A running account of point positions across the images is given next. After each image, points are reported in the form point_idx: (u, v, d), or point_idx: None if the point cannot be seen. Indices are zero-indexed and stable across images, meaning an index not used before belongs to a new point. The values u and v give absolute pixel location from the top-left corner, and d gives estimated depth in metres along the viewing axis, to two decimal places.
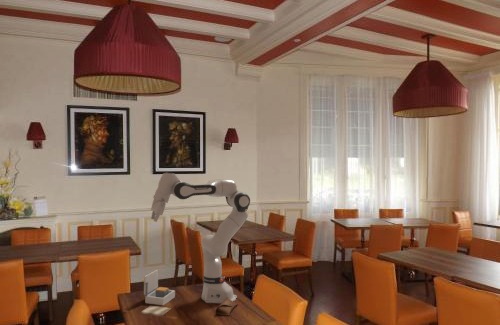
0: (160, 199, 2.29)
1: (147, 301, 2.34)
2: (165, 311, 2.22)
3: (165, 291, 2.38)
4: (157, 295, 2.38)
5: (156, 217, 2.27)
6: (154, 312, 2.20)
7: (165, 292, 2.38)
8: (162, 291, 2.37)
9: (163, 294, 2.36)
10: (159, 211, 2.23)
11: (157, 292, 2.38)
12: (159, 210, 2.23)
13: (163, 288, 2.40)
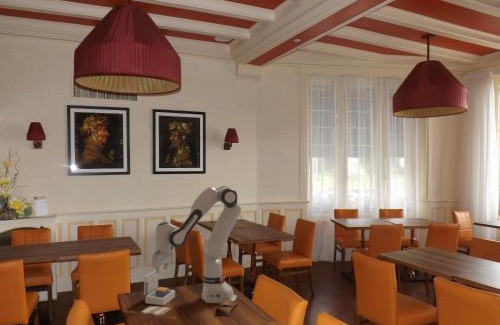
0: (157, 251, 2.36)
1: (147, 301, 2.34)
2: (165, 311, 2.22)
3: (165, 291, 2.38)
4: (157, 295, 2.38)
5: (156, 269, 2.34)
6: (154, 312, 2.20)
7: (165, 292, 2.38)
8: (162, 291, 2.37)
9: (163, 294, 2.36)
10: (152, 264, 2.30)
11: (157, 292, 2.38)
12: (152, 263, 2.30)
13: (163, 288, 2.40)
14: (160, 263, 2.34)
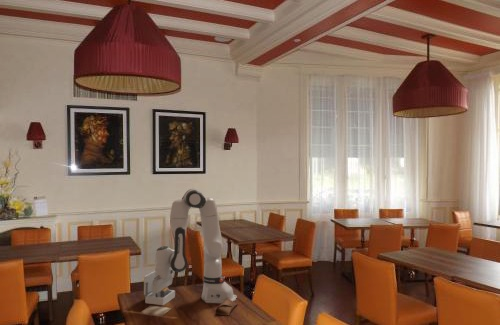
0: (157, 276, 2.36)
1: (147, 301, 2.34)
2: (165, 311, 2.22)
3: (165, 291, 2.38)
4: (157, 295, 2.38)
5: (158, 294, 2.35)
6: (154, 312, 2.20)
7: (165, 292, 2.38)
8: (162, 291, 2.37)
9: (163, 294, 2.36)
10: (152, 290, 2.30)
11: None
12: (152, 289, 2.30)
13: None
14: (160, 288, 2.34)
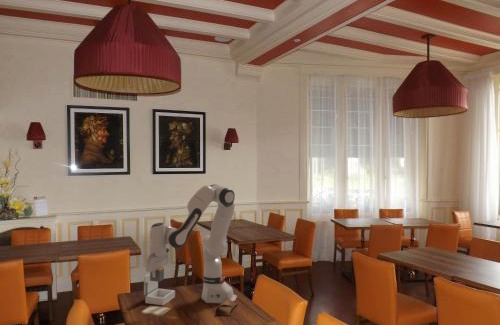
0: None
1: (147, 301, 2.34)
2: (165, 311, 2.22)
3: (160, 270, 2.22)
4: None
5: (153, 273, 2.19)
6: (154, 312, 2.20)
7: (160, 271, 2.22)
8: (157, 270, 2.21)
9: (159, 273, 2.21)
10: (147, 268, 2.14)
11: None
12: (147, 267, 2.14)
13: None
14: (155, 267, 2.18)
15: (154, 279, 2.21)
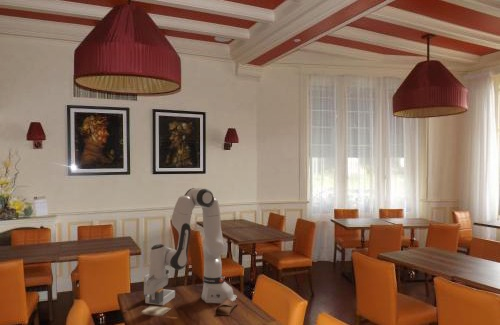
0: None
1: (147, 301, 2.34)
2: (165, 311, 2.22)
3: (160, 292, 2.22)
4: (151, 296, 2.22)
5: (152, 295, 2.19)
6: (154, 312, 2.20)
7: (160, 293, 2.22)
8: (156, 292, 2.21)
9: (158, 296, 2.21)
10: (146, 291, 2.14)
11: None
12: (146, 290, 2.14)
13: None
14: (154, 289, 2.18)
15: (153, 301, 2.21)
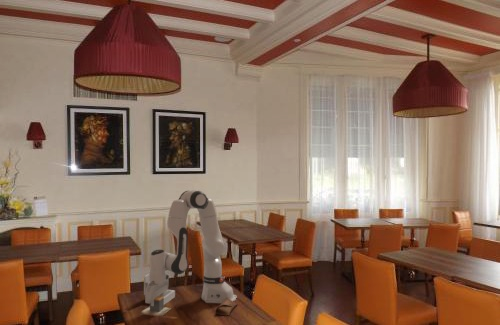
0: None
1: (147, 301, 2.34)
2: (165, 311, 2.22)
3: (160, 300, 2.22)
4: None
5: (151, 302, 2.18)
6: (154, 312, 2.20)
7: (160, 301, 2.22)
8: (157, 300, 2.21)
9: (158, 304, 2.21)
10: (146, 297, 2.14)
11: None
12: (146, 296, 2.14)
13: (158, 297, 2.24)
14: (154, 295, 2.18)
15: (154, 309, 2.22)
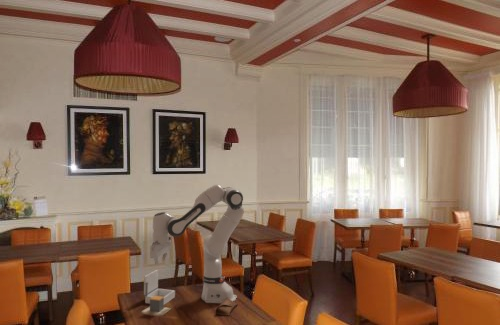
0: (155, 242, 2.32)
1: (147, 301, 2.34)
2: (165, 311, 2.22)
3: (160, 300, 2.22)
4: (152, 304, 2.22)
5: (155, 260, 2.30)
6: (154, 312, 2.20)
7: (160, 301, 2.22)
8: (157, 300, 2.21)
9: (158, 304, 2.21)
10: (151, 255, 2.26)
11: (152, 301, 2.22)
12: (151, 254, 2.27)
13: (158, 297, 2.24)
14: (158, 254, 2.30)
15: (154, 309, 2.22)
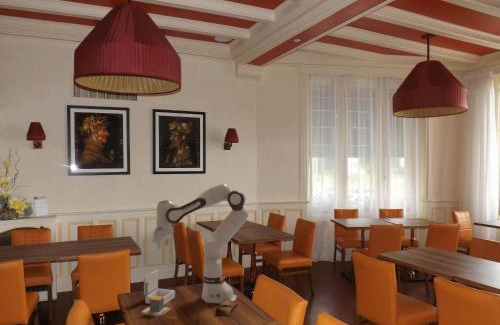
0: None
1: (147, 301, 2.34)
2: (165, 311, 2.22)
3: (160, 300, 2.22)
4: (152, 304, 2.22)
5: (158, 245, 2.45)
6: (154, 312, 2.20)
7: (160, 301, 2.22)
8: (157, 300, 2.21)
9: (158, 304, 2.21)
10: (154, 239, 2.41)
11: (152, 301, 2.22)
12: (154, 239, 2.41)
13: (158, 297, 2.24)
14: (161, 239, 2.44)
15: (154, 309, 2.22)
